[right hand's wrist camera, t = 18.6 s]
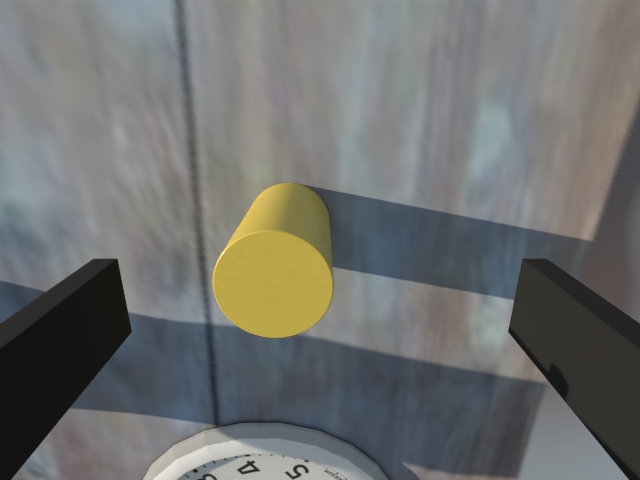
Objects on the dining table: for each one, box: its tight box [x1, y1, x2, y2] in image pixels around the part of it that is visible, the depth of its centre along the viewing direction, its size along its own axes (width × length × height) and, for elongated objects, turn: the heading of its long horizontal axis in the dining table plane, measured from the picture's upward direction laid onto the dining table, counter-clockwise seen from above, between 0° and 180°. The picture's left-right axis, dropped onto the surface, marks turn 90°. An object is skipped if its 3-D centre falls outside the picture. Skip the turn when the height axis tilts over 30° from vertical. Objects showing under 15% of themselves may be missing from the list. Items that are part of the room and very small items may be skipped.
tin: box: [213, 183, 334, 338], centre depth 26 cm, size 6×6×11 cm
